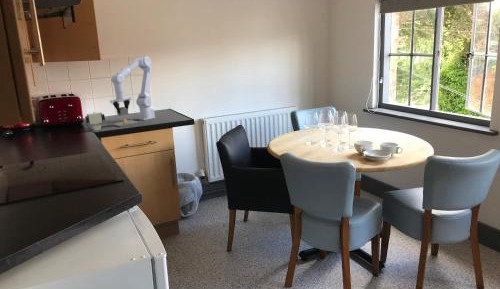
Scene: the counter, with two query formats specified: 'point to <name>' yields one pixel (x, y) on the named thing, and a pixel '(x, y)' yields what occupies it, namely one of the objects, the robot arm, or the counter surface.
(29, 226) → the counter surface
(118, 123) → the mount plate
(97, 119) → the pneumatic valve
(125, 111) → the knob
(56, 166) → the counter surface
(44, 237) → the counter surface
